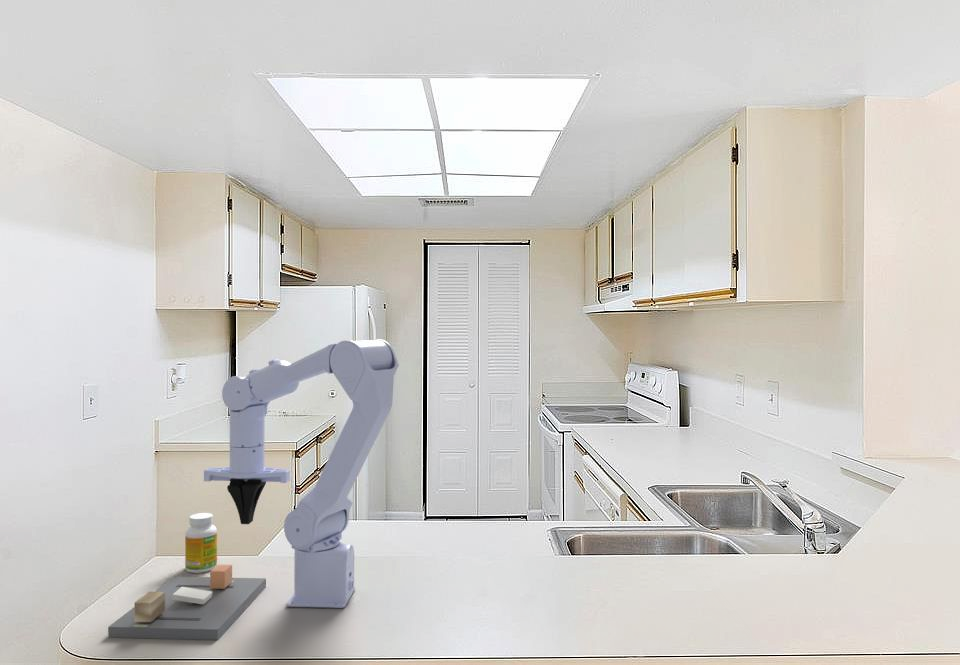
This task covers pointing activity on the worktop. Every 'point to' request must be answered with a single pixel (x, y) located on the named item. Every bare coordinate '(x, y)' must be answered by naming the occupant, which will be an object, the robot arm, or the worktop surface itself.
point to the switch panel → (193, 611)
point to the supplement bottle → (201, 544)
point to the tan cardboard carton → (149, 606)
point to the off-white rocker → (192, 595)
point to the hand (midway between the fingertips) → (246, 522)
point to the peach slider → (221, 576)
